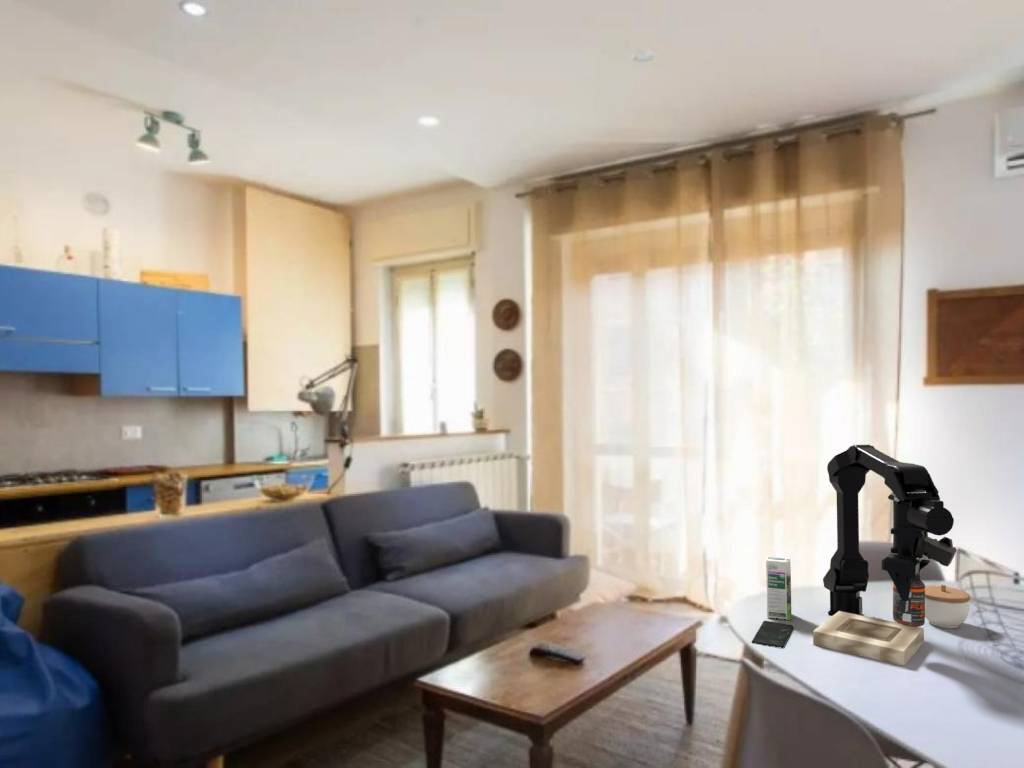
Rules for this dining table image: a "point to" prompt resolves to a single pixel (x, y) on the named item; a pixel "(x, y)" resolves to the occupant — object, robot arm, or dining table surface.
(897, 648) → the maple socket board
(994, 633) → the dining table surface
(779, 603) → the syrup box
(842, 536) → the robot arm
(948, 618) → the lidded jar
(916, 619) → the supplement bottle
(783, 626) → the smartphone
